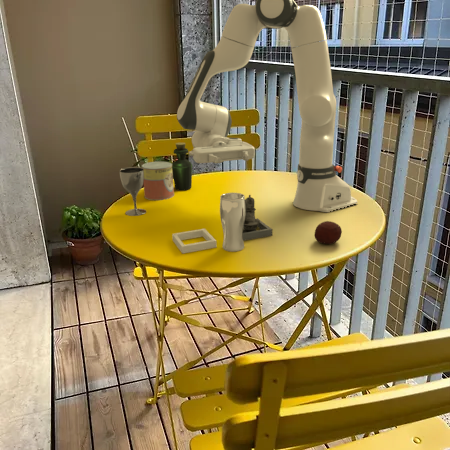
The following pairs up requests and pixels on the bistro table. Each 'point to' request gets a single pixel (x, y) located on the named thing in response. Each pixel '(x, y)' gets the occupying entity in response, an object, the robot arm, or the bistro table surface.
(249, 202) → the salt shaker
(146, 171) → the canned food
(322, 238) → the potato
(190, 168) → the potion bottle
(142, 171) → the wine glass
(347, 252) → the bistro table surface
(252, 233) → the dark socket
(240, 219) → the beer glass
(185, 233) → the pale socket
